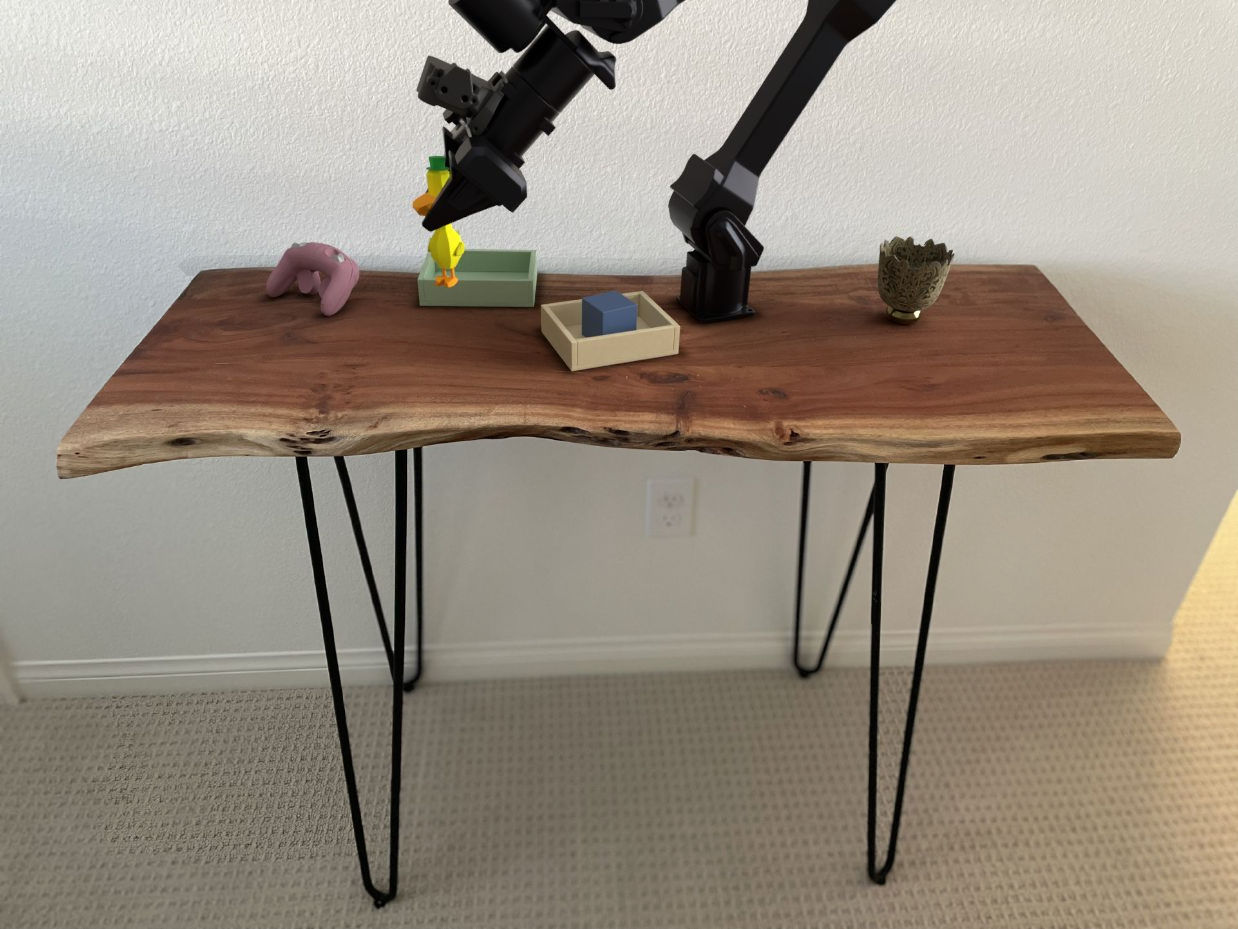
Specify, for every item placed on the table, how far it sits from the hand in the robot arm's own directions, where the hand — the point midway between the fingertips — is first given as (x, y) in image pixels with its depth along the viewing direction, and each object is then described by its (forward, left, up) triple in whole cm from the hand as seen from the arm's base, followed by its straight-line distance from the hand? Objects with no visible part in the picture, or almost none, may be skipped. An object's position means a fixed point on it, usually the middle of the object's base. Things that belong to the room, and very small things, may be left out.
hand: (423, 219), depth 87 cm
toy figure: (-1, 0, -7) cm, 7 cm away
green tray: (-7, -10, -12) cm, 17 cm away
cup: (-48, +12, -12) cm, 51 cm away
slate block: (-16, +7, -12) cm, 21 cm away
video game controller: (+10, -13, -12) cm, 20 cm away
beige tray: (-16, +7, -12) cm, 21 cm away
